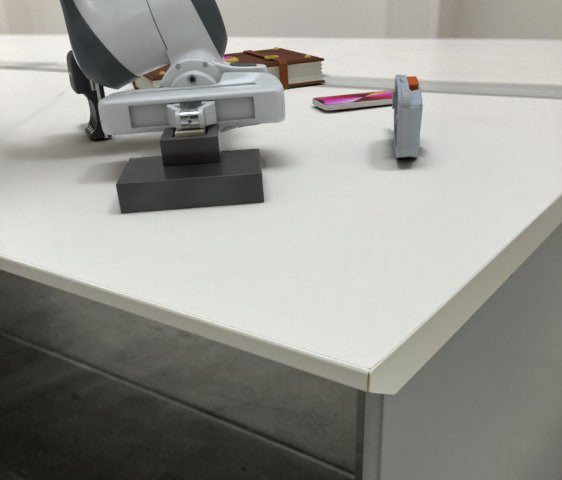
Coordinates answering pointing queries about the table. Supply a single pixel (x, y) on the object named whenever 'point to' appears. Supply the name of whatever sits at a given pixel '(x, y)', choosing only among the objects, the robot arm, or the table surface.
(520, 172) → the table surface
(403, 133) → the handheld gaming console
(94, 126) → the black curved upright piece
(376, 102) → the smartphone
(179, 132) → the beige cube
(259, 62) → the book
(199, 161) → the grey stepped pedestal
